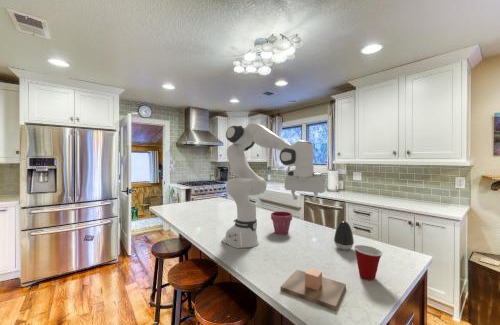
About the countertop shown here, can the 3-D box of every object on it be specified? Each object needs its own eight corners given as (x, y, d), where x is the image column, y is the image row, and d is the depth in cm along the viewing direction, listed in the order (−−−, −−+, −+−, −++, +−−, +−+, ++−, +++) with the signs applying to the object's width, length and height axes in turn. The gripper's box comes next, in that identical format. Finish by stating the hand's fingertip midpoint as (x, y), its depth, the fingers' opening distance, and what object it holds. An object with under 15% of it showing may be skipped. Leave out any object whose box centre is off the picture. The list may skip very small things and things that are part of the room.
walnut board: (280, 290, 85) (280, 286, 85) (296, 272, 98) (296, 269, 98) (335, 310, 74) (335, 306, 74) (345, 287, 87) (345, 283, 87)
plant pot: (266, 231, 154) (266, 213, 154) (280, 227, 163) (280, 210, 163) (282, 237, 143) (282, 217, 143) (296, 232, 152) (296, 213, 152)
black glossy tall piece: (334, 250, 123) (334, 222, 123) (333, 243, 133) (334, 218, 132) (354, 253, 119) (354, 224, 119) (352, 246, 129) (353, 219, 129)
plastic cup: (388, 283, 90) (389, 253, 90) (363, 284, 89) (363, 254, 89) (371, 270, 101) (372, 243, 101) (348, 271, 100) (349, 244, 100)
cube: (304, 286, 85) (304, 273, 85) (309, 280, 89) (309, 267, 89) (317, 290, 82) (318, 276, 82) (321, 284, 87) (322, 271, 87)
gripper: (327, 173, 109) (327, 201, 109) (288, 171, 121) (288, 197, 121) (323, 173, 104) (323, 203, 104) (283, 172, 115) (283, 199, 116)
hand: (304, 200), depth 113 cm, fingers open, 8 cm apart
